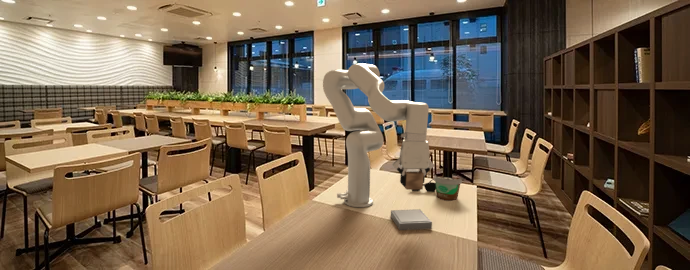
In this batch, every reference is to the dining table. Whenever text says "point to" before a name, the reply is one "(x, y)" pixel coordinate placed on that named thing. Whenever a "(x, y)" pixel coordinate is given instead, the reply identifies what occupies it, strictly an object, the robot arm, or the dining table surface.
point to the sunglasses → (428, 187)
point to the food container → (447, 188)
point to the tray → (411, 219)
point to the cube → (414, 179)
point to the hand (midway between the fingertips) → (412, 184)
